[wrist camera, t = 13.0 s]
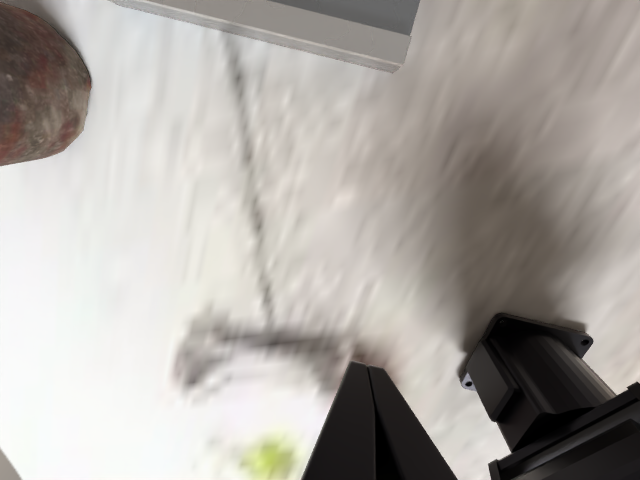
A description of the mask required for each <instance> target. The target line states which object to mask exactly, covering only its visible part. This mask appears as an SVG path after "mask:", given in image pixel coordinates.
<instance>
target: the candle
mask: <svg viewBox="0 0 640 480" xmlns="http://www.w3.org/2000/svg"><path fill="white" fill-rule="evenodd" d="M90 89H91V83H90V78H89V74H88V71H87V69H86V67H85V65H84V63H83V61H82V60H81V59H80V57H79V55H78V54H77V53H76V51H75V50H74V49H73V48H72V47H71V46H70V44H69V43H68V42H67V41H66V40H65V39H64V38H62V37H61V36H60V35H59V34H58V33H57V31H56V30H55V29H54V28H53V27H51V26H50V25H49V24H48V23H47V22H45V21H44V20H42V19H41V18H40V17H38V16H36V15H34V14H32V13H30V12H28V11H26V10H23V9H20V8H17V7H14V6H10V5H7V4H4V3H1V2H0V166H4V165H9V164H15V163H20V162H26V161H32V160H37V159H42V158H46V157H49V156H52V155H55V154H58V153H60V152H62V151H64V150H65V149H66V148H67V147H68V146H69V145H70V144H71V143H72V142H73V141H74V140H75V139H76V138H77V137H78V136H79V135H80V133H81V132H82V131H83V129H84V124H85V118H86V115H87V105H88V98H89V91H90Z"/></svg>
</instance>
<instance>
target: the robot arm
mask: <svg viewBox="0 0 640 480" xmlns="http://www.w3.org/2000/svg"><path fill="white" fill-rule="evenodd" d="M502 320H504V321H503V322H502V323H500V322H501V321H502ZM582 340H583V341H582ZM592 344H593V339H592V338H591V337H590V336H589V335H588V334H587V333H585V332H581V331H576V330H572V329H568V328H564V327H559V326H555V325H551V324H547V323H542V322H538V321H534V320H530V319H525V318H521V317H517V316H513V315H508V314H504V313H500V314H497V315H495V316H494V318H493V319H492V321H491V323H490V325H489V327H488V328H487V330H486V332H485V334H484V336H483V337H482V339H481V341H480V342H479V344H478V345H477V347H476V349H475V351H474V353H473V354H472V356H471V358H470V360H469V362H468V364H467V365H466V368H465V370H464V372H463V374H462V376H461V377H460V383H461V385H462V387H463V388H465V389H468V390H473V391H477V393H478V395H479V397H480V399H481V401H482V403H483V405H484V407H485V410H486V412H487V414H488V416H489V418H490V419H491V421H493V422H497V424H498V426H499V429H500V431H501V433H502V435H503V437H504V439H505V441H506V443H507V445H508V447H509V449H510V451H511V454H509V455H508V456H506V457H504V458H502V459H500V460H497V459H496V460H494V461H492V462H490V463H489V464H488V466H489V471H490V476H491V480H640V384H639V383H638V382H636V383H634V384H632V385H630V386H628V387H627V388H628V390H626V391H624V392H623V393H621V394H619V395H616V394H615V393H614V392H613V391H612V390H611V389H610V388H609V387H608V386H607V384H606V383H605V382H604V381H603V380H602V379H601V378H600V377H599V376H598V375H597V374H596V373H595V372H594V371H593V370H592V369H591V368H590V367H589V366H588V365H587V364H586V363H585V362H584V361H583V359H582V357H583V356H584V355H585V353H586V352H587V351H588V349H589V348H590V347H591V345H592ZM468 381H469V382H468ZM301 480H458V479H457V478H456V476H455V475H454V473H453V472H452V470H451V469H450V467H449V466H448V464H447V463H446V461H445V460H444V458H443V457H442V455H441V454H440V452H439V451H438V449H437V448H436V446H435V445H434V443H433V442H432V440H431V439H430V437H429V435H428V434H427V432H426V431H425V429H424V428H423V426H422V425H421V423H420V422H419V420H418V419H417V417H416V416H415V414H414V413H413V411H412V410H411V408H410V407H409V405H408V404H407V402H406V401H405V399H404V398H403V396H402V395H401V393H400V392H399V390H398V389H397V387H396V386H395V384H394V383H393V381H392V380H391V378H390V377H389V375H388V374H387V372H386V371H385V369H383V368H382V367H378V366H374V365H367V366H366V364H364V363H360V362H356V361H350V362H349V364H348V367H347V369H346V372H345V374H344V376H343V379H342V381H341V384H340V386H339V389H338V391H337V393H336V396H335V398H334V401H333V403H332V406H331V408H330V410H329V413H328V415H327V418H326V420H325V423H324V425H323V427H322V430H321V432H320V435H319V437H318V439H317V442H316V444H315V447H314V449H313V452H312V454H311V456H310V459H309V461H308V464H307V466H306V469H305V471H304V473H303V476H302V478H301Z"/></svg>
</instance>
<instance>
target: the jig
mask: <svg viewBox="0 0 640 480" xmlns="http://www.w3.org/2000/svg"><path fill="white" fill-rule="evenodd" d="M109 1H111V2H113V3H115V4H117V5H120V6H124V7H128V8H132V9H136V10H140V11H144V12H148V13H152V14H156V15H160V16H164V17H168V18H172V19H176V20H180V21H184V22H188V23H192V24H196V25H201V26H205V27H209V28H213V29H217V30H221V31H225V32H229V33H233V34H237V35H241V36H245V37H249V38H253V39H257V40H261V41H265V42H269V43H273V44H277V45H281V46H285V47H289V48H293V49H297V50H301V51H305V52H309V53H313V54H317V55H321V56H325V57H329V58H333V59H337V60H341V61H345V62H349V63H353V64H357V65H361V66H365V67H370V68H374V69H378V70H382V71H386V72H390V73H393V72H395V71H396V70H397V69H398V68H400V67H401V66H402V65H403V64H404V61H405V57H406V54H407V51H408V47H409V44H410V40H411V37H412V36H410V33H411V30H412V27H413V23H414V20H415V16H416V13H417V9H418V6H419V2H420V0H109Z"/></svg>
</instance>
